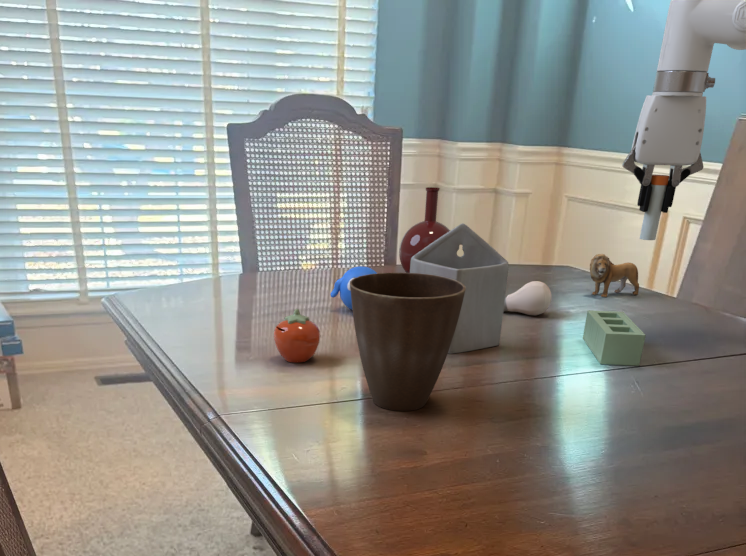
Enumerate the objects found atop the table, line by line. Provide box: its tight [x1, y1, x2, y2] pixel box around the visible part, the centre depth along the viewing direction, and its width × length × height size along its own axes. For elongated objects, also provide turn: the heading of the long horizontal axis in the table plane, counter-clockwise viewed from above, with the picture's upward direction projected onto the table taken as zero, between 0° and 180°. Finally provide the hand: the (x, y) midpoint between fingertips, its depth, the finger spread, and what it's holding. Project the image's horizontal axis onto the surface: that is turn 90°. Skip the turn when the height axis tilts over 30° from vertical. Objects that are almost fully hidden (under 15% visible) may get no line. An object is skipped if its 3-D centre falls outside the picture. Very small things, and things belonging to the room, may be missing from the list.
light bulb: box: [503, 280, 553, 316], centre depth 153 cm, size 7×7×11 cm
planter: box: [410, 223, 510, 355], centre depth 127 cm, size 16×8×19 cm, turn 80°
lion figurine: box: [589, 253, 640, 298], centre depth 169 cm, size 15×5×9 cm, turn 117°
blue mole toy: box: [330, 265, 378, 311], centre depth 150 cm, size 12×12×8 cm
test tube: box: [639, 174, 669, 241], centre depth 130 cm, size 3×3×10 cm
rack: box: [582, 309, 647, 367], centre depth 130 cm, size 16×6×5 cm, turn 175°
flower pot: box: [350, 272, 466, 412], centre depth 103 cm, size 15×15×16 cm
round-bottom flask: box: [398, 186, 451, 273], centre depth 174 cm, size 13×13×20 cm
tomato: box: [273, 308, 321, 364], centre depth 122 cm, size 7×7×8 cm
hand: (653, 210), depth 131 cm, fingers closed on test tube, 2 cm apart
